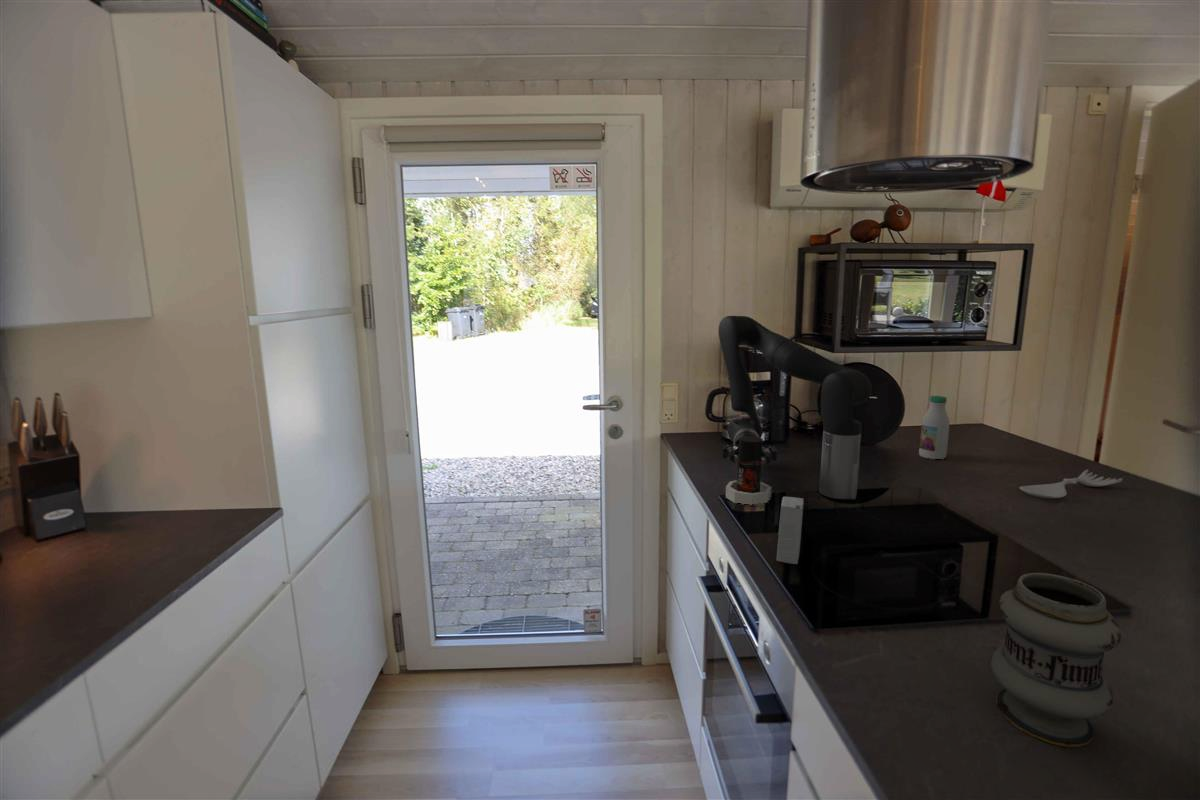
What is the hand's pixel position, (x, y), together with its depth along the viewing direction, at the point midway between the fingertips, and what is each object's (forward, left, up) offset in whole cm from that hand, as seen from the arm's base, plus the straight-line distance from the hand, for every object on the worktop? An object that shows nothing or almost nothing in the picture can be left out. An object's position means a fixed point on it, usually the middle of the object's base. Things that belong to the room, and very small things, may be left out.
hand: (750, 459), depth 146 cm
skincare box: (-15, +29, -11) cm, 34 cm away
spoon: (-76, -44, -12) cm, 88 cm away
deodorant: (+1, -2, -10) cm, 10 cm away
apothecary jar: (-51, +61, -11) cm, 80 cm away
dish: (0, -2, -11) cm, 11 cm away
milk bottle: (-46, -65, -11) cm, 80 cm away
